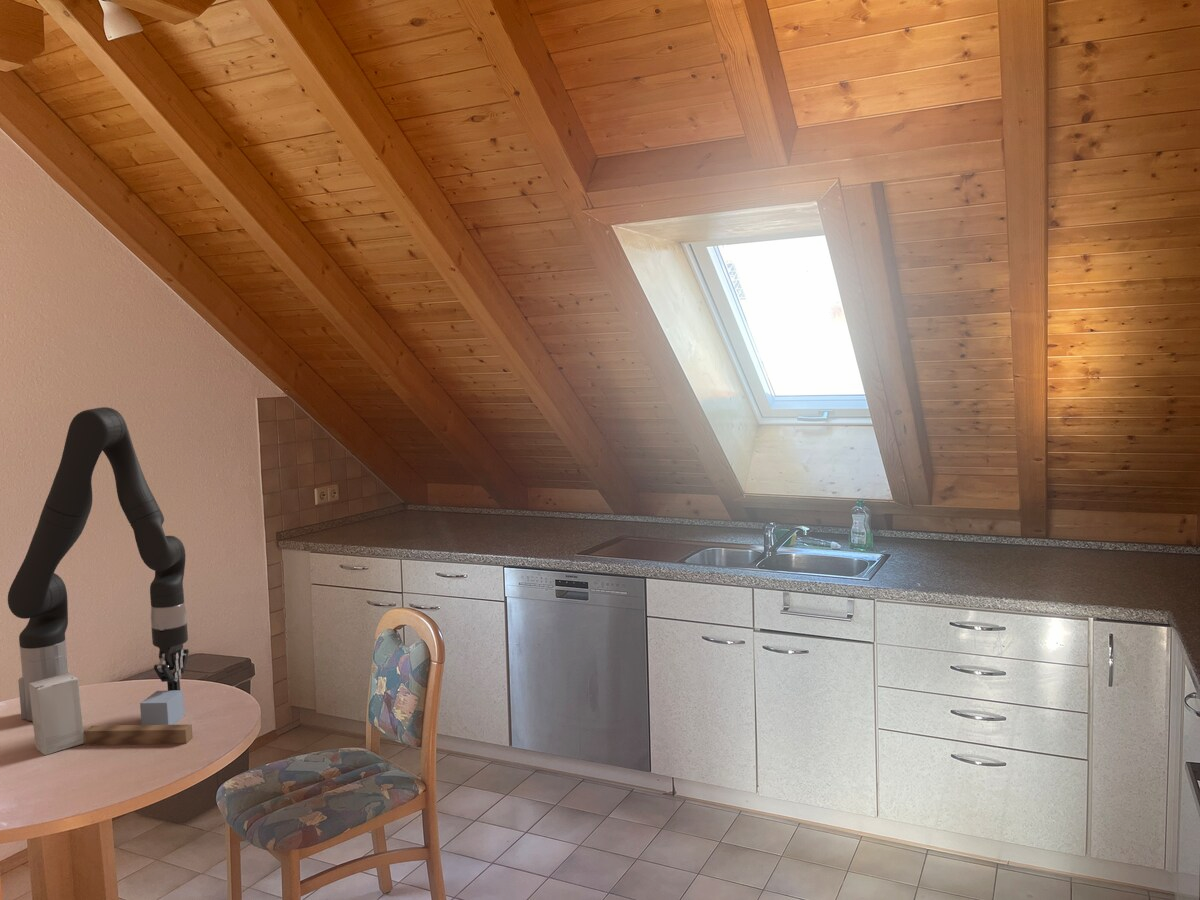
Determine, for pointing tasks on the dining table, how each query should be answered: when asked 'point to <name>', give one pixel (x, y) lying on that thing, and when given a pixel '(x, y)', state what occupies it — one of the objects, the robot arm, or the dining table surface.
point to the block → (162, 708)
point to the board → (138, 734)
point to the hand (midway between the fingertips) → (174, 696)
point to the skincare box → (56, 713)
